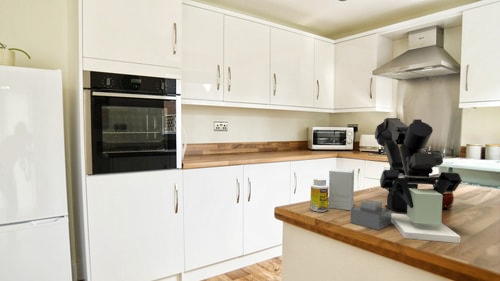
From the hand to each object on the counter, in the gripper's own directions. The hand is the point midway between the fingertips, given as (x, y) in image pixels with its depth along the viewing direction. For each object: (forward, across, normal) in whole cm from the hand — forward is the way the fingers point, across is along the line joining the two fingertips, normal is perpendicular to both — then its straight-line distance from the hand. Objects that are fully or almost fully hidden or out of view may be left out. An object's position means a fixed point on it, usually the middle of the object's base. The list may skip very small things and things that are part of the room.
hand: (425, 208), depth 74 cm
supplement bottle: (-6, -26, +15) cm, 31 cm away
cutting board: (+2, 0, +7) cm, 7 cm away
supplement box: (-10, -19, +20) cm, 29 cm away
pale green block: (+2, 0, +3) cm, 4 cm away
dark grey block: (+1, -12, +8) cm, 15 cm away
